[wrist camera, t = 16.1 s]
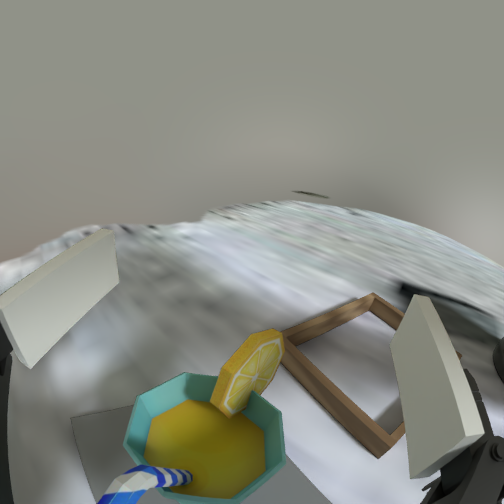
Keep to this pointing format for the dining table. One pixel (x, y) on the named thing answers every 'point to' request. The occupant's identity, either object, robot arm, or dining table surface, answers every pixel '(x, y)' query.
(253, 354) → the cup
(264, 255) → the dining table surface
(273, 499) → the board
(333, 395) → the wooden picture frame
